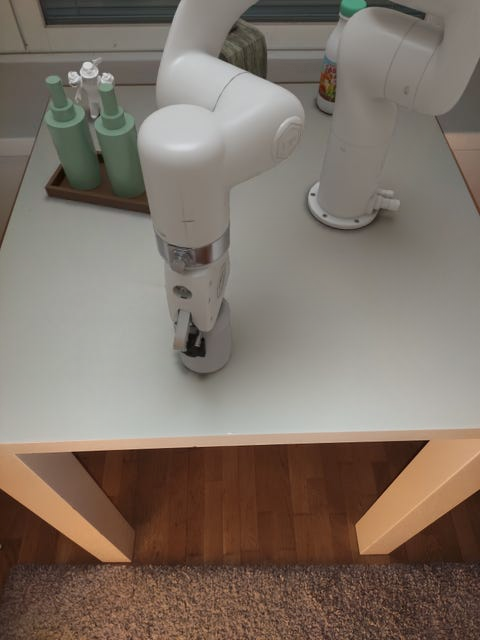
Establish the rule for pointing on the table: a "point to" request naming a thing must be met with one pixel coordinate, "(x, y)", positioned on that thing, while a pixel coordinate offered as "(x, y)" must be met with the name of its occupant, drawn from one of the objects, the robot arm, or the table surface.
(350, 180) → the robot arm
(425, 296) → the table surface
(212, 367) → the can
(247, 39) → the tabletop clock
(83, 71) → the hat wearing toy figure
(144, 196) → the tray
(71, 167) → the bottle
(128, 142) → the bottle
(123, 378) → the table surface
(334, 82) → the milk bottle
